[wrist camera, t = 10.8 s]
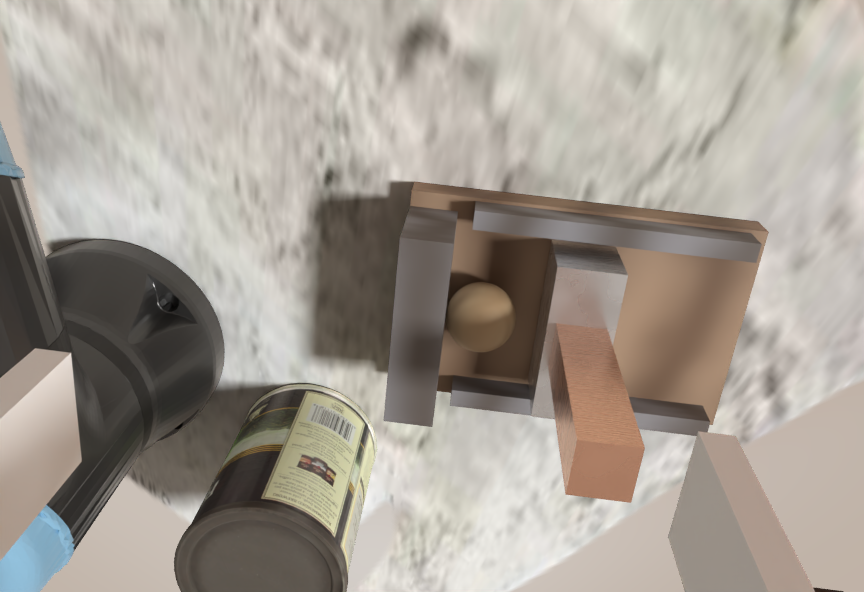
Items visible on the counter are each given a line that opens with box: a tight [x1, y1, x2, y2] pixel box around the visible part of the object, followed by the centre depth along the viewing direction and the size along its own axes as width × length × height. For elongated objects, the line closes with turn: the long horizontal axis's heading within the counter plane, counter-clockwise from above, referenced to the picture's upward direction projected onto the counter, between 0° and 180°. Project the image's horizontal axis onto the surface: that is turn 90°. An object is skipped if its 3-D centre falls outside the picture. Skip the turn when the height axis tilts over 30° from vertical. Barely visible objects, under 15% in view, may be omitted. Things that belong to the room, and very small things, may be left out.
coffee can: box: [174, 384, 377, 592], centre depth 52 cm, size 10×10×14 cm
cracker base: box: [384, 182, 768, 436], centre depth 49 cm, size 22×14×8 cm, turn 84°
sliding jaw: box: [528, 239, 645, 503], centre depth 43 cm, size 4×10×17 cm, turn 174°
